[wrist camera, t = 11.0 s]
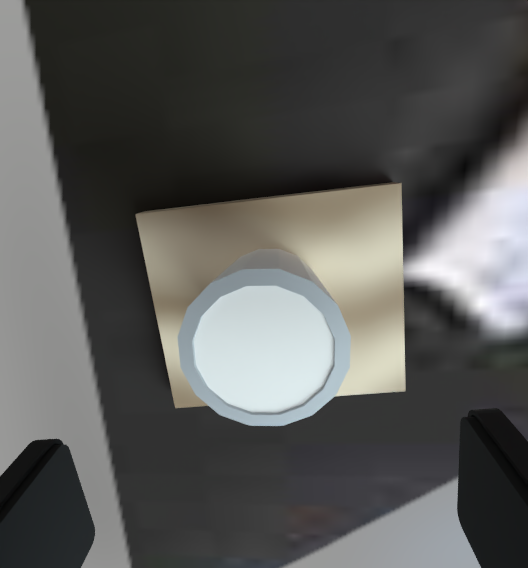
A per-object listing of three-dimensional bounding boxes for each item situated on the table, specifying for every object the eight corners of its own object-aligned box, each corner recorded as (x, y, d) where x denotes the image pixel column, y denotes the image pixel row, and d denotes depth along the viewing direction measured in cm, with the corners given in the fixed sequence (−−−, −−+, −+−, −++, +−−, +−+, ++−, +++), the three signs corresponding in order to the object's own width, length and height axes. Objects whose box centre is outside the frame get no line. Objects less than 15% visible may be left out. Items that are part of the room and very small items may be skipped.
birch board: (144, 211, 22) (135, 214, 21) (393, 182, 21) (401, 183, 20) (181, 394, 26) (175, 407, 24) (398, 378, 25) (405, 391, 23)
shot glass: (202, 341, 23) (168, 413, 16) (217, 226, 21) (186, 253, 14) (317, 362, 23) (331, 441, 16) (343, 248, 21) (371, 285, 14)
